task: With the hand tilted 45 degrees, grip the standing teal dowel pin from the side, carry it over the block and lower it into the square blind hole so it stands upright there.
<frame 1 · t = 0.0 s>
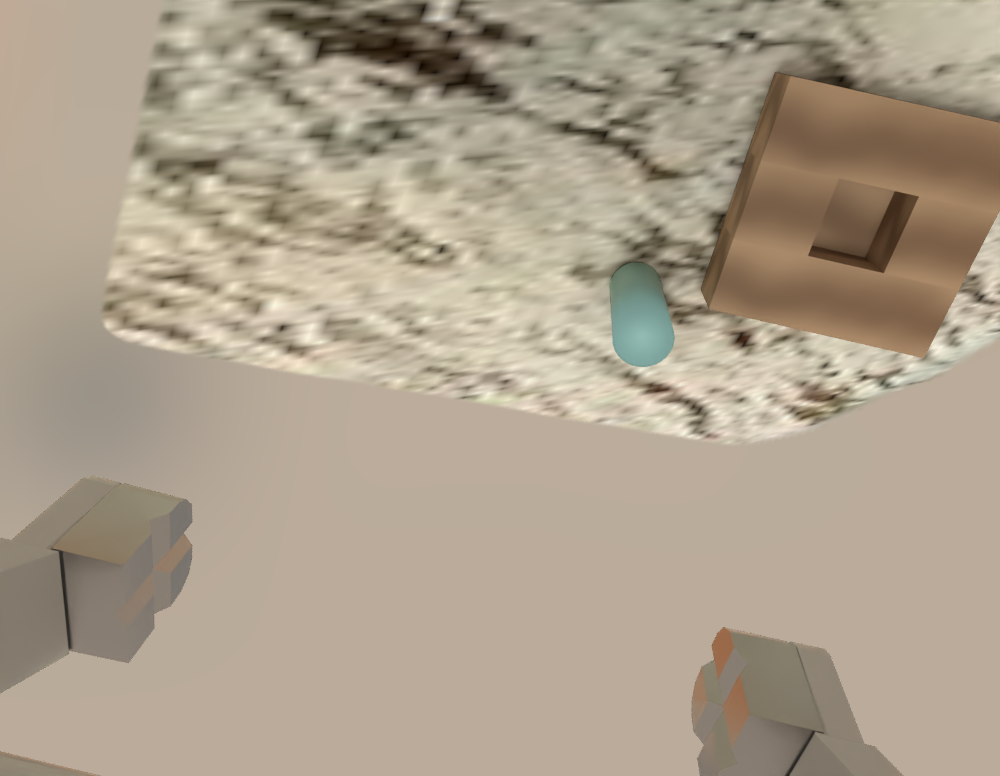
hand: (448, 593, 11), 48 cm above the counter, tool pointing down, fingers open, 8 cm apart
bore block: (842, 212, 54), on the counter
pin: (635, 286, 58), on the counter
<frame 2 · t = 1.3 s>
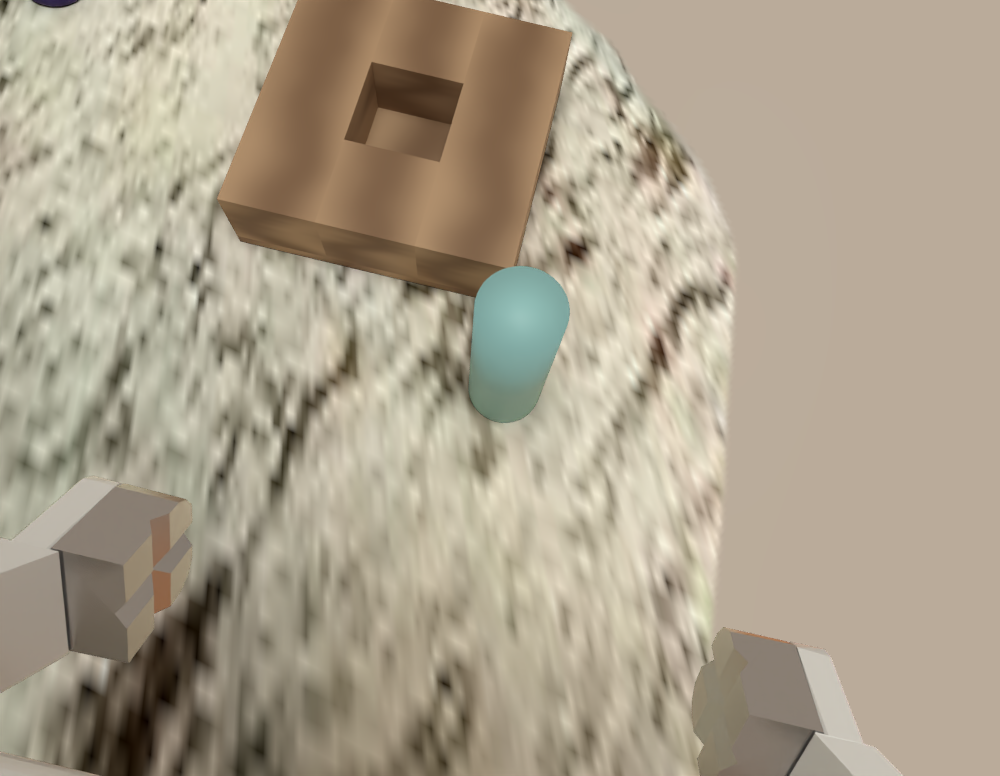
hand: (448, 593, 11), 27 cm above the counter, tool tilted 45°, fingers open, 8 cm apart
bore block: (409, 159, 45), on the counter
pin: (504, 388, 41), on the counter
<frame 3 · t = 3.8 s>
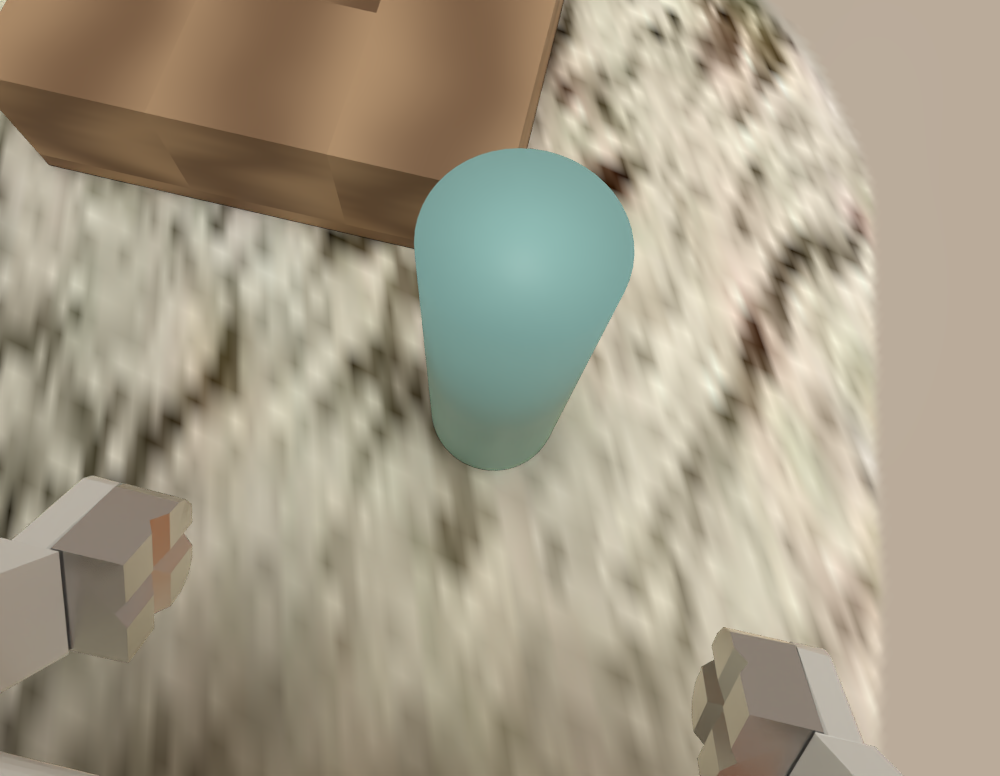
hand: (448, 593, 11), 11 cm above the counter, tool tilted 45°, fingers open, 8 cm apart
bore block: (338, 36, 28), on the counter
pin: (493, 409, 24), on the counter
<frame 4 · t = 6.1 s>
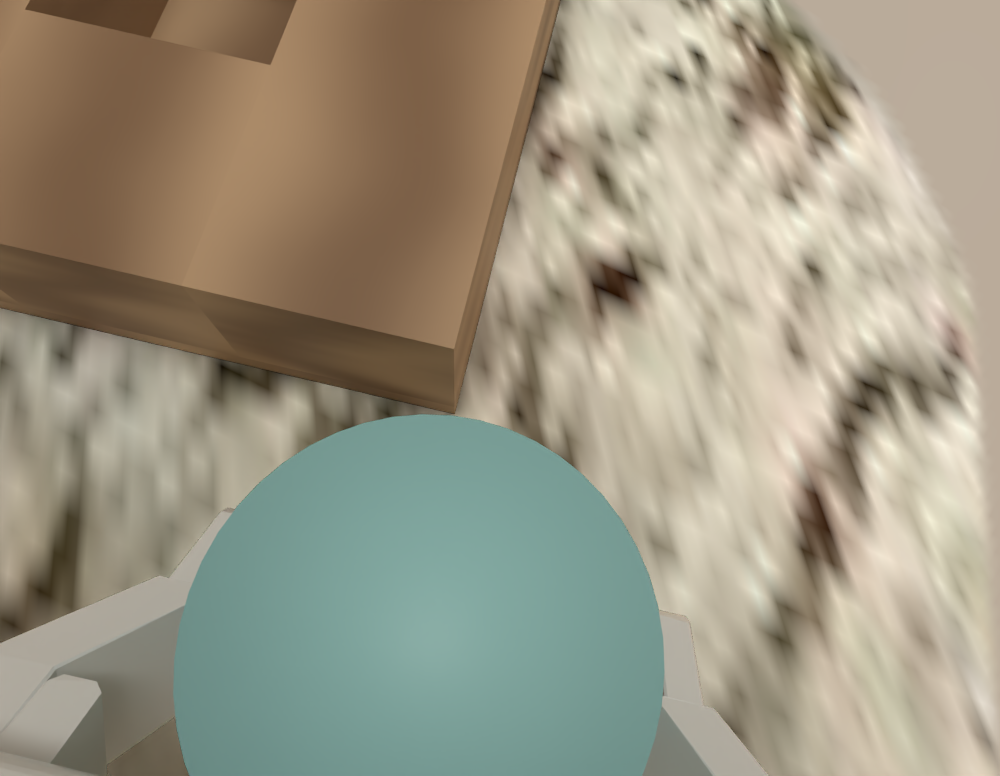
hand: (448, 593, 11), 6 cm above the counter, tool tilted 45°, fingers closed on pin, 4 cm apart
bore block: (247, 84, 21), on the counter
pin: (445, 632, 16), on the counter, touching gripper
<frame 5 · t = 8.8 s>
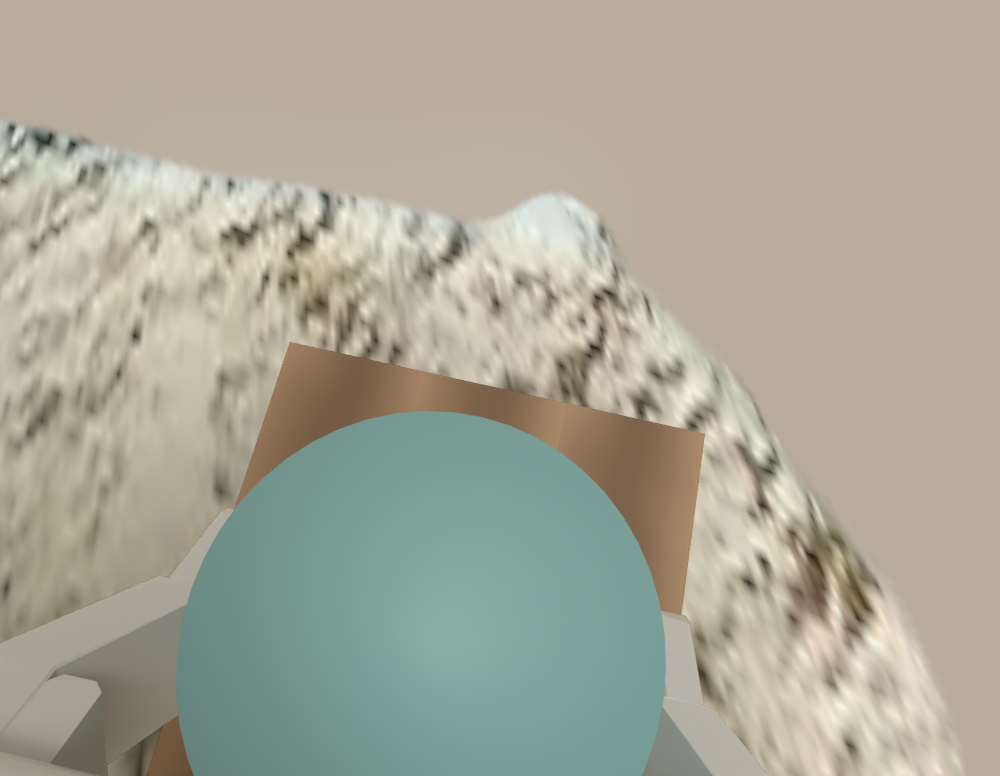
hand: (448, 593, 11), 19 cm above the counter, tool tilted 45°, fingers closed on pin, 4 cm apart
bore block: (448, 606, 29), on the counter
pin: (445, 630, 16), point 13 cm above the counter, touching gripper
when the fingers open (8 cm above the counter, at t = 11.4 s): pin drops 1 cm, resting on bore block.
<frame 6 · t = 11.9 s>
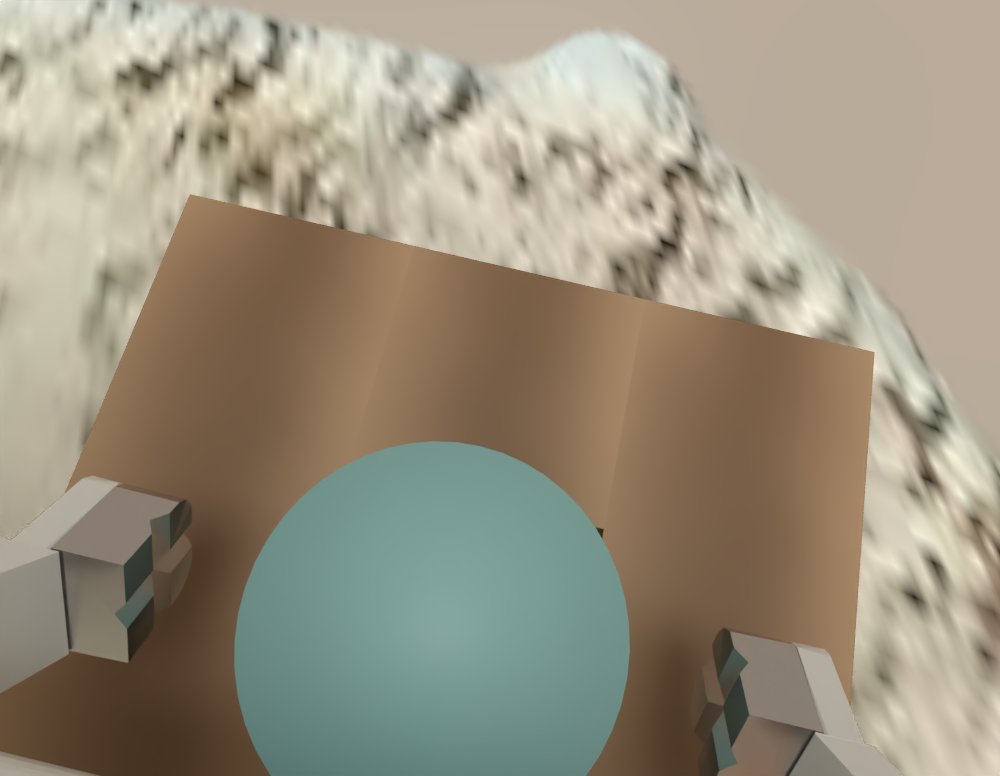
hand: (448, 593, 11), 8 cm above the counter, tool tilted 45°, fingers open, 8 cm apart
bore block: (446, 631, 18), on the counter
pin: (448, 629, 18), point 1 cm above the counter, touching bore block
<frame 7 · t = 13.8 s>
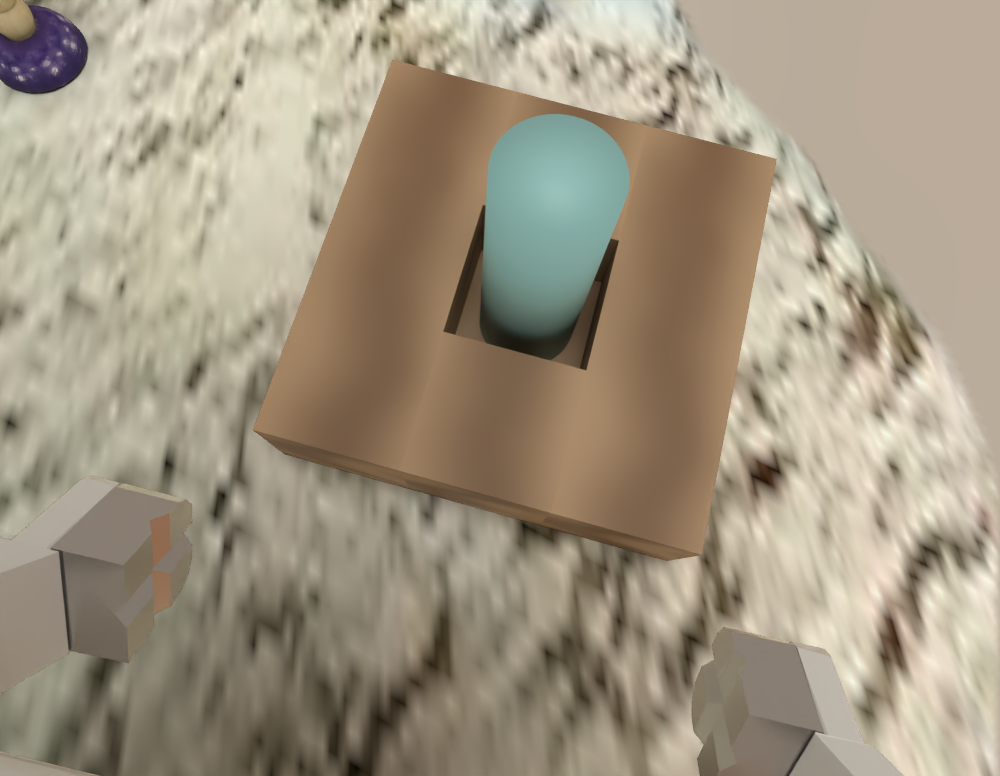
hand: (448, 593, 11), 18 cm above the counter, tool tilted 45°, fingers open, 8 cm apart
bore block: (524, 327, 32), on the counter
toy lamp: (51, 58, 35), on the counter
pin: (526, 321, 31), point 1 cm above the counter, touching bore block
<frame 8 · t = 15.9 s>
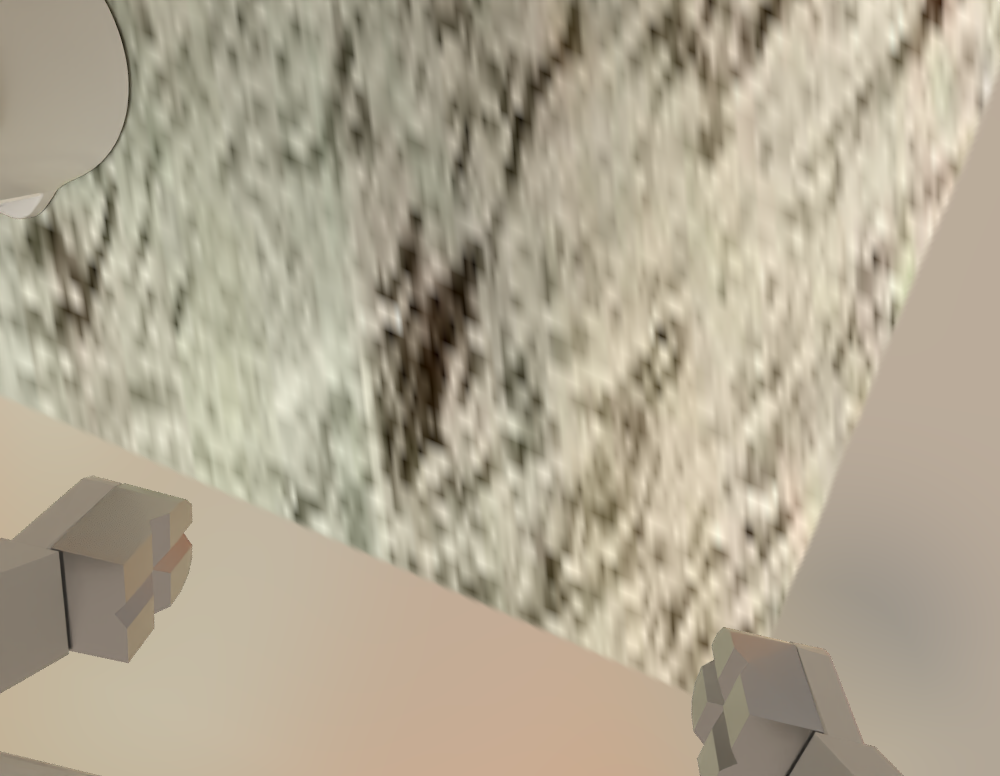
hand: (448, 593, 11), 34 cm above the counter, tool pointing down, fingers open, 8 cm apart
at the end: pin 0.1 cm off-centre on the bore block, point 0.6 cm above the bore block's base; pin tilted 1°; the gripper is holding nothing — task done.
